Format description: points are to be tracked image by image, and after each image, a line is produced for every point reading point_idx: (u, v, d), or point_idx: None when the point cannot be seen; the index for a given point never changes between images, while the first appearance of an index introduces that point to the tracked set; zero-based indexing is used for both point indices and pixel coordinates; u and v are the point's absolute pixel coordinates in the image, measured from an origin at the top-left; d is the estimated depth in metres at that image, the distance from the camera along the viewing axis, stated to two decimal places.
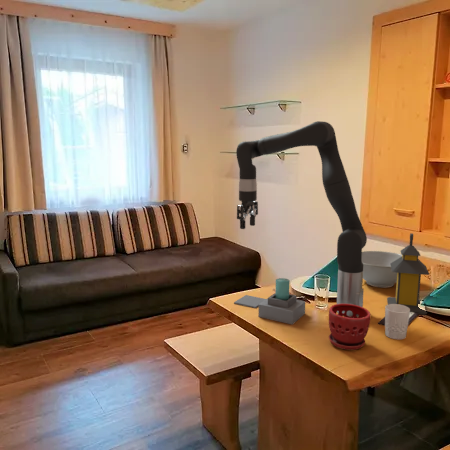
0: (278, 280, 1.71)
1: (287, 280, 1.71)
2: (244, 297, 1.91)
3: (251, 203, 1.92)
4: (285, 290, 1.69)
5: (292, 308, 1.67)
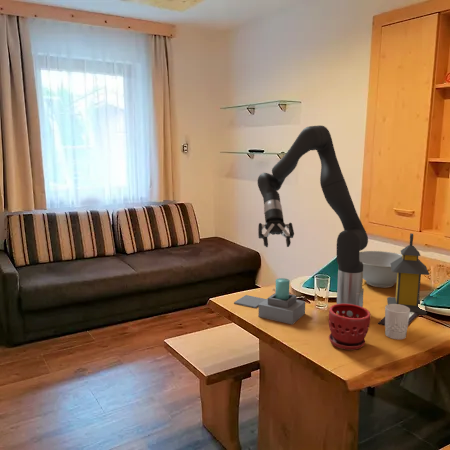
0: (278, 280, 1.71)
1: (287, 280, 1.71)
2: (244, 297, 1.91)
3: (278, 223, 1.85)
4: (285, 290, 1.69)
5: (292, 308, 1.67)
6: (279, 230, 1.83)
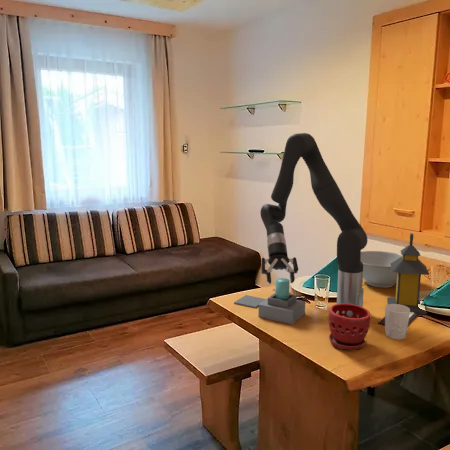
0: (278, 280, 1.71)
1: (287, 280, 1.71)
2: (244, 297, 1.91)
3: (282, 258, 1.79)
4: (285, 290, 1.69)
5: (292, 308, 1.67)
6: (283, 265, 1.77)
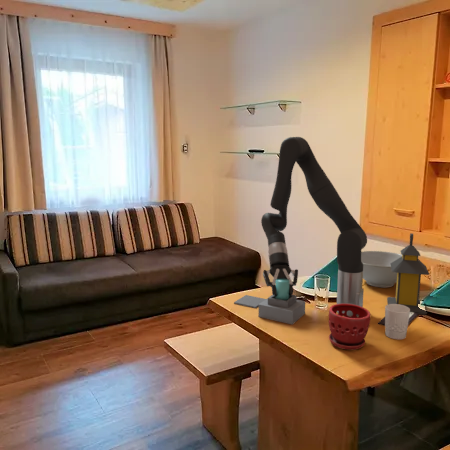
0: (278, 280, 1.71)
1: (287, 280, 1.71)
2: (244, 297, 1.91)
3: (283, 268, 1.75)
4: (285, 290, 1.69)
5: (292, 308, 1.67)
6: (283, 276, 1.74)
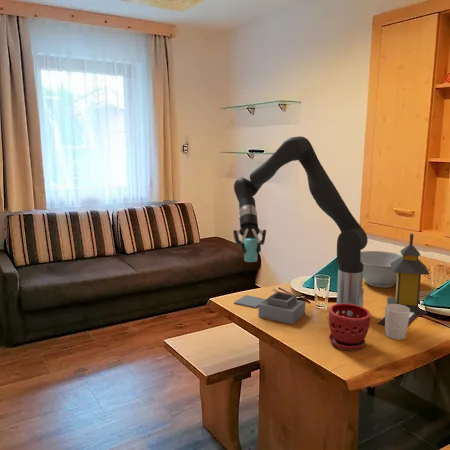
0: (247, 239, 1.82)
1: (255, 239, 1.82)
2: (244, 297, 1.91)
3: (252, 228, 1.87)
4: (252, 247, 1.81)
5: (292, 308, 1.67)
6: (252, 235, 1.85)
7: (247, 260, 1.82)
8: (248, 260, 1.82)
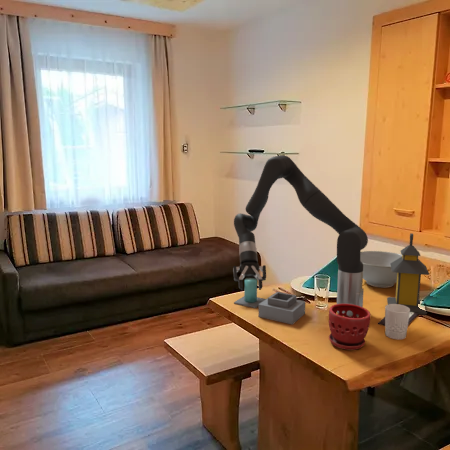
0: (247, 279, 1.86)
1: (255, 279, 1.86)
2: None
3: (252, 265, 1.90)
4: (252, 288, 1.84)
5: (292, 308, 1.67)
6: (252, 272, 1.88)
7: (247, 301, 1.85)
8: (248, 301, 1.85)
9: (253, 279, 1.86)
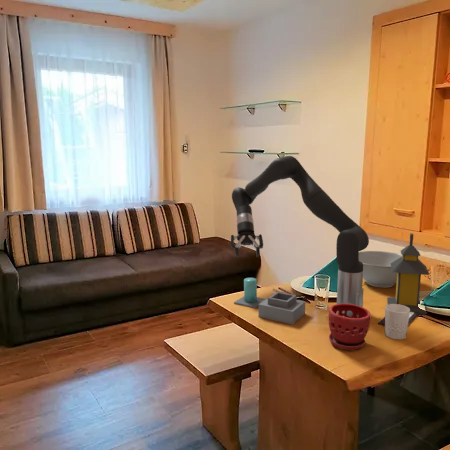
0: (246, 279, 1.86)
1: (254, 279, 1.85)
2: None
3: (249, 235, 2.01)
4: (252, 288, 1.84)
5: (292, 308, 1.67)
6: (249, 241, 1.99)
7: (247, 301, 1.85)
8: (248, 301, 1.85)
9: (253, 279, 1.86)
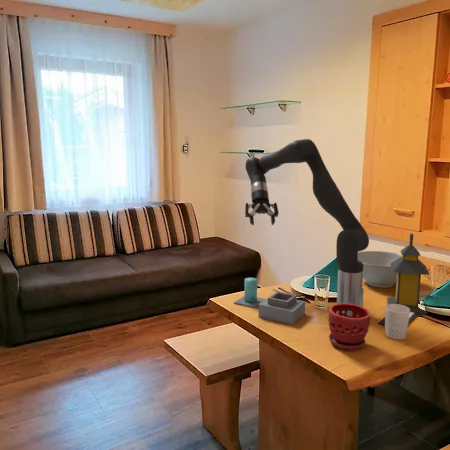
0: (247, 279, 1.86)
1: (255, 279, 1.86)
2: None
3: (264, 203, 1.98)
4: (252, 288, 1.84)
5: (292, 308, 1.67)
6: (264, 209, 1.96)
7: (247, 300, 1.86)
8: (247, 300, 1.85)
9: (253, 279, 1.86)
